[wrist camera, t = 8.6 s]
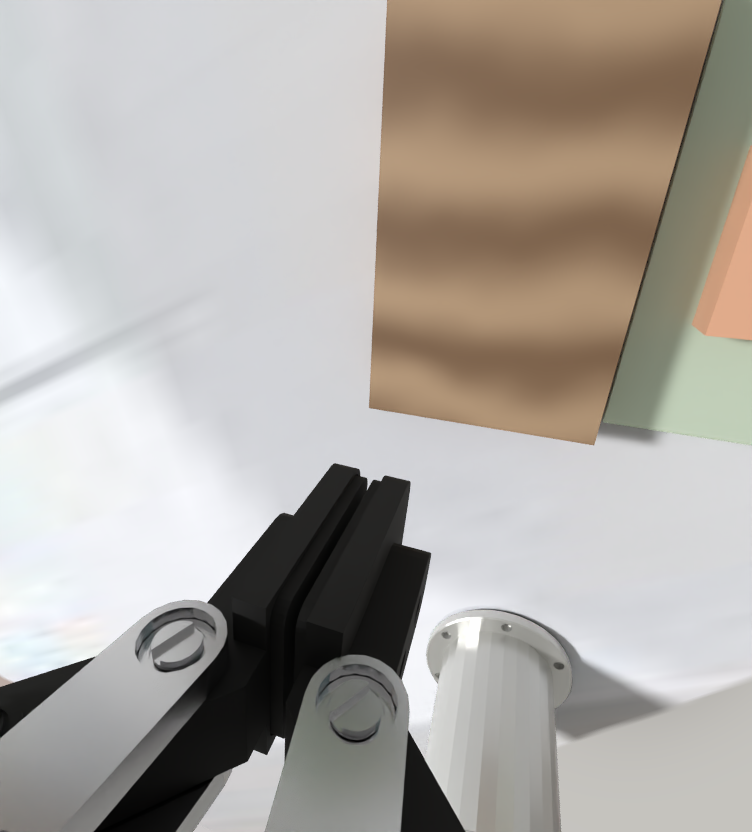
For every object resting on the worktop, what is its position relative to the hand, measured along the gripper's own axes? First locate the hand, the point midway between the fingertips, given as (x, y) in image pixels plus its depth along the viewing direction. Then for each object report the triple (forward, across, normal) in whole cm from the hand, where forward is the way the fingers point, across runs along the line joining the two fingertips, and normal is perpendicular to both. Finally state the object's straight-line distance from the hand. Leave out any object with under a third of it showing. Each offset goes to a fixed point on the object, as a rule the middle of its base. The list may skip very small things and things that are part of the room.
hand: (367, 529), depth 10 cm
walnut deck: (+23, -1, -5) cm, 24 cm away
